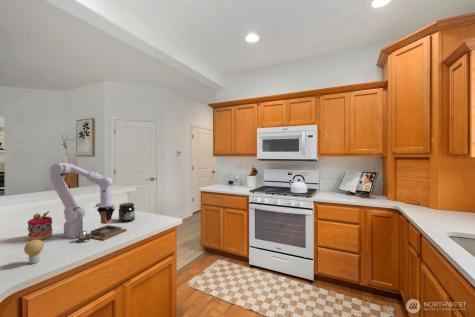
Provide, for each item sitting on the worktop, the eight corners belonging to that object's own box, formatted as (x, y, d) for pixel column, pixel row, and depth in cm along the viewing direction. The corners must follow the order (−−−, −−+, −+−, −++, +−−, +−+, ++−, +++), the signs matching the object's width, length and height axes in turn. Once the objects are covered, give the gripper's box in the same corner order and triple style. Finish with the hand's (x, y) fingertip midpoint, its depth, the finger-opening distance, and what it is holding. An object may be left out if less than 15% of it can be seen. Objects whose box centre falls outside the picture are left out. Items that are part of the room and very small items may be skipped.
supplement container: (120, 219, 160) (120, 203, 159) (135, 217, 163) (135, 202, 163) (117, 223, 150) (116, 206, 149) (133, 222, 153) (133, 205, 152)
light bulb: (47, 258, 100) (47, 237, 100) (35, 266, 93) (34, 243, 93) (33, 258, 100) (33, 237, 99) (20, 266, 93) (19, 243, 93)
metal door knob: (73, 242, 118) (73, 233, 118) (84, 238, 124) (84, 229, 124) (81, 243, 116) (81, 234, 116) (92, 239, 122) (92, 230, 122)
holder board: (84, 237, 125) (84, 232, 125) (108, 228, 141) (108, 223, 141) (103, 240, 121) (103, 235, 121) (126, 230, 136) (126, 226, 136)
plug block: (100, 223, 129) (100, 211, 129) (106, 221, 133) (106, 210, 133) (105, 224, 128) (105, 212, 128) (111, 222, 132) (111, 210, 132)
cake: (25, 243, 117) (24, 215, 116) (30, 236, 126) (30, 211, 125) (50, 239, 122) (50, 212, 122) (54, 233, 131) (53, 208, 131)
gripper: (90, 197, 129) (91, 220, 129) (109, 199, 124) (109, 222, 124) (101, 195, 135) (102, 216, 136) (119, 197, 131) (119, 219, 131)
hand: (106, 219), depth 130 cm, fingers closed on plug block, 4 cm apart
